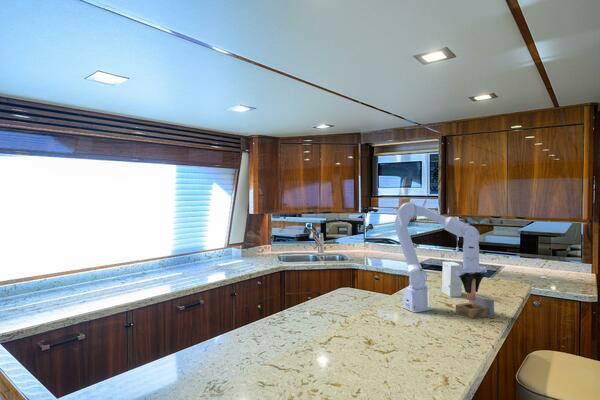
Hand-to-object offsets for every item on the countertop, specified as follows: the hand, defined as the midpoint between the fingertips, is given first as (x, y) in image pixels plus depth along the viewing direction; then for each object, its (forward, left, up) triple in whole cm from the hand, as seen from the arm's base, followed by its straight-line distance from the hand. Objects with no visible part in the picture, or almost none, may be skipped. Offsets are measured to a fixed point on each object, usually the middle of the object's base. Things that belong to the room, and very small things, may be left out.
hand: (471, 292), depth 141 cm
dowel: (0, 0, -3) cm, 3 cm away
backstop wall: (+5, 0, -9) cm, 10 cm away
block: (0, 0, -9) cm, 9 cm away
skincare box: (+14, +24, -9) cm, 29 cm away
